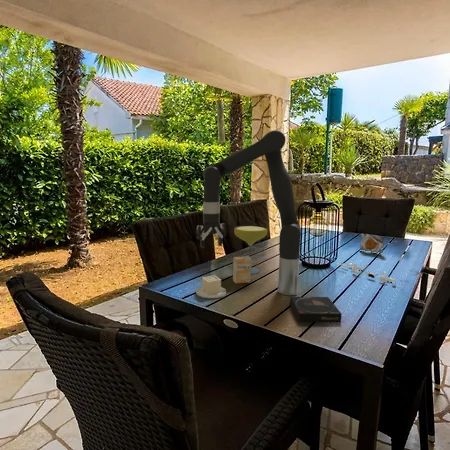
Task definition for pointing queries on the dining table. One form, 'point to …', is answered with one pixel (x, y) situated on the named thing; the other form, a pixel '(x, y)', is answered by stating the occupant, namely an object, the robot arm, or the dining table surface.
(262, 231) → the cocktail glass
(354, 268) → the miniature set
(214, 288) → the collar
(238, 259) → the supplement box
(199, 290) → the duct stub
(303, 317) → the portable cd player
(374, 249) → the meal
